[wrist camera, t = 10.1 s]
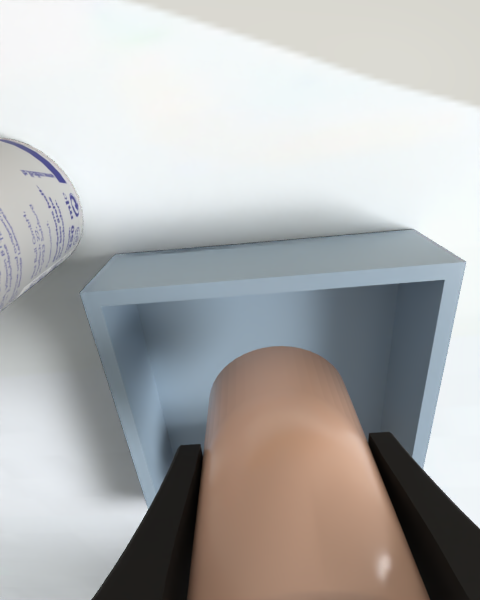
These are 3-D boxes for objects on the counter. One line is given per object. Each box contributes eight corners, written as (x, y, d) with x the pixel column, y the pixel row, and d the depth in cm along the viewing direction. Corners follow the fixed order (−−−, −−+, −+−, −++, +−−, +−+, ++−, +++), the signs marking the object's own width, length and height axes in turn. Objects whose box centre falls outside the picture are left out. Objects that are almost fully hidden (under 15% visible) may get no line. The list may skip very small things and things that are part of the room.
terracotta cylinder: (345, 445, 14) (429, 705, 8) (219, 456, 14) (203, 715, 8) (347, 338, 12) (466, 581, 6) (198, 353, 12) (154, 600, 6)
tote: (379, 488, 23) (404, 555, 20) (177, 500, 24) (167, 568, 20) (414, 229, 16) (466, 261, 12) (115, 254, 16) (79, 292, 12)
